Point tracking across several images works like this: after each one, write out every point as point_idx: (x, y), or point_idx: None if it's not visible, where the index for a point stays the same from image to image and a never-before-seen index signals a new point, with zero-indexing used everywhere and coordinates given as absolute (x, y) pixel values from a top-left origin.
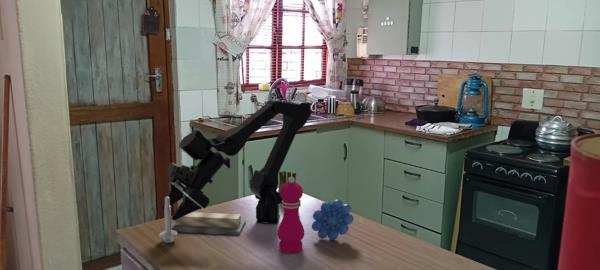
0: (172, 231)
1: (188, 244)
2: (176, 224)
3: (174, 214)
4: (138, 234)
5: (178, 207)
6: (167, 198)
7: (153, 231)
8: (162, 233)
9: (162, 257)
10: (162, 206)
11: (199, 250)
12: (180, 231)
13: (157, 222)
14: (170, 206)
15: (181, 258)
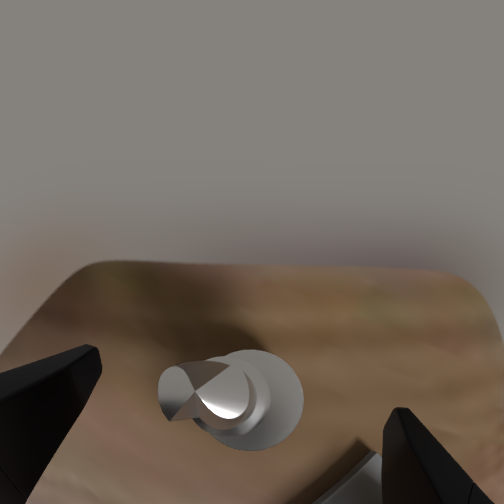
0: (254, 429)
1: (149, 446)
2: None
3: (58, 356)
4: (423, 315)
5: (13, 388)
6: (163, 377)
7: (419, 387)
8: (266, 369)
9: (120, 291)
10: (404, 415)
11: (70, 432)
12: (320, 497)
13: (496, 432)
14: (194, 420)
15: (64, 338)
